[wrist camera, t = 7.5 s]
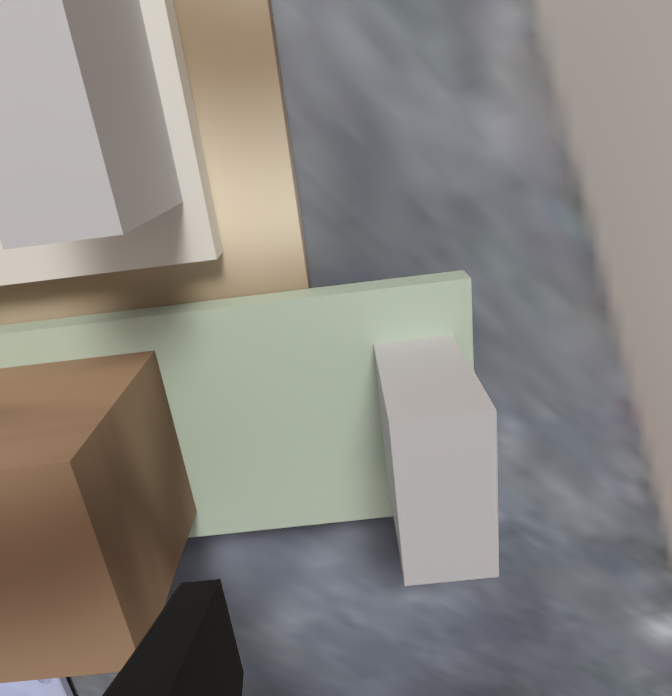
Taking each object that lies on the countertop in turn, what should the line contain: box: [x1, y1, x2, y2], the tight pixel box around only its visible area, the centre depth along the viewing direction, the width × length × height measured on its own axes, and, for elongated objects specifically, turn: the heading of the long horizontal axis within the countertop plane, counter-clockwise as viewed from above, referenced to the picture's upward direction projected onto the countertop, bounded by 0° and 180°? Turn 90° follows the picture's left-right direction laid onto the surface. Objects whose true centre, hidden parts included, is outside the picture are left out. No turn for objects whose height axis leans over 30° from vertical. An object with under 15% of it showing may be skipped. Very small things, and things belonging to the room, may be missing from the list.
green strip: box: [0, 270, 499, 586], centre depth 14 cm, size 7×14×5 cm, turn 97°
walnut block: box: [0, 350, 197, 683], centre depth 13 cm, size 5×5×5 cm
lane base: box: [0, 0, 311, 325], centre depth 15 cm, size 16×16×1 cm
